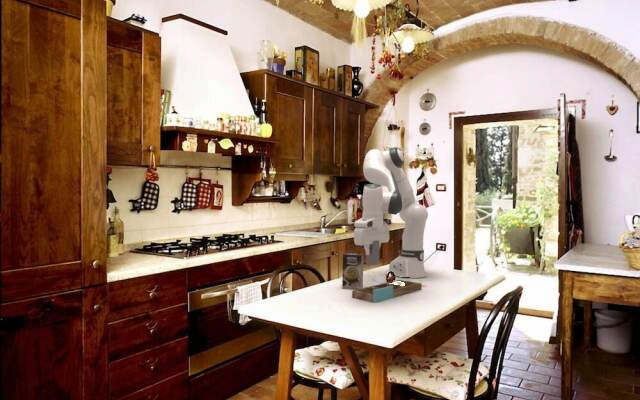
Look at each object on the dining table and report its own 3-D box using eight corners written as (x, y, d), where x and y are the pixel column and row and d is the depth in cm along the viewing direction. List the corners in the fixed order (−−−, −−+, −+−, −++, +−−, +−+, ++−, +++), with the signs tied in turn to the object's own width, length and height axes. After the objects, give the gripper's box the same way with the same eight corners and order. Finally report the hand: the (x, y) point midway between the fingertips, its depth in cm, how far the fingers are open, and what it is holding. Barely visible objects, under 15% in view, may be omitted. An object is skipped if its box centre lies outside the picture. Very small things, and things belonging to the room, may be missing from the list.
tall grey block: (365, 263, 196) (365, 240, 196) (371, 262, 199) (371, 239, 198) (373, 264, 193) (373, 241, 193) (379, 263, 196) (379, 240, 196)
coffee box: (341, 288, 214) (342, 254, 214) (344, 285, 220) (344, 252, 220) (361, 289, 212) (361, 255, 211) (363, 286, 218) (363, 253, 218)
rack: (352, 297, 196) (352, 286, 196) (399, 285, 221) (399, 275, 221) (375, 302, 187) (375, 290, 187) (421, 289, 212) (421, 279, 212)
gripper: (381, 220, 205) (381, 251, 205) (351, 222, 191) (351, 255, 191) (393, 221, 201) (392, 252, 201) (363, 223, 186) (363, 257, 186)
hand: (372, 254), depth 196 cm, fingers closed on tall grey block, 4 cm apart
